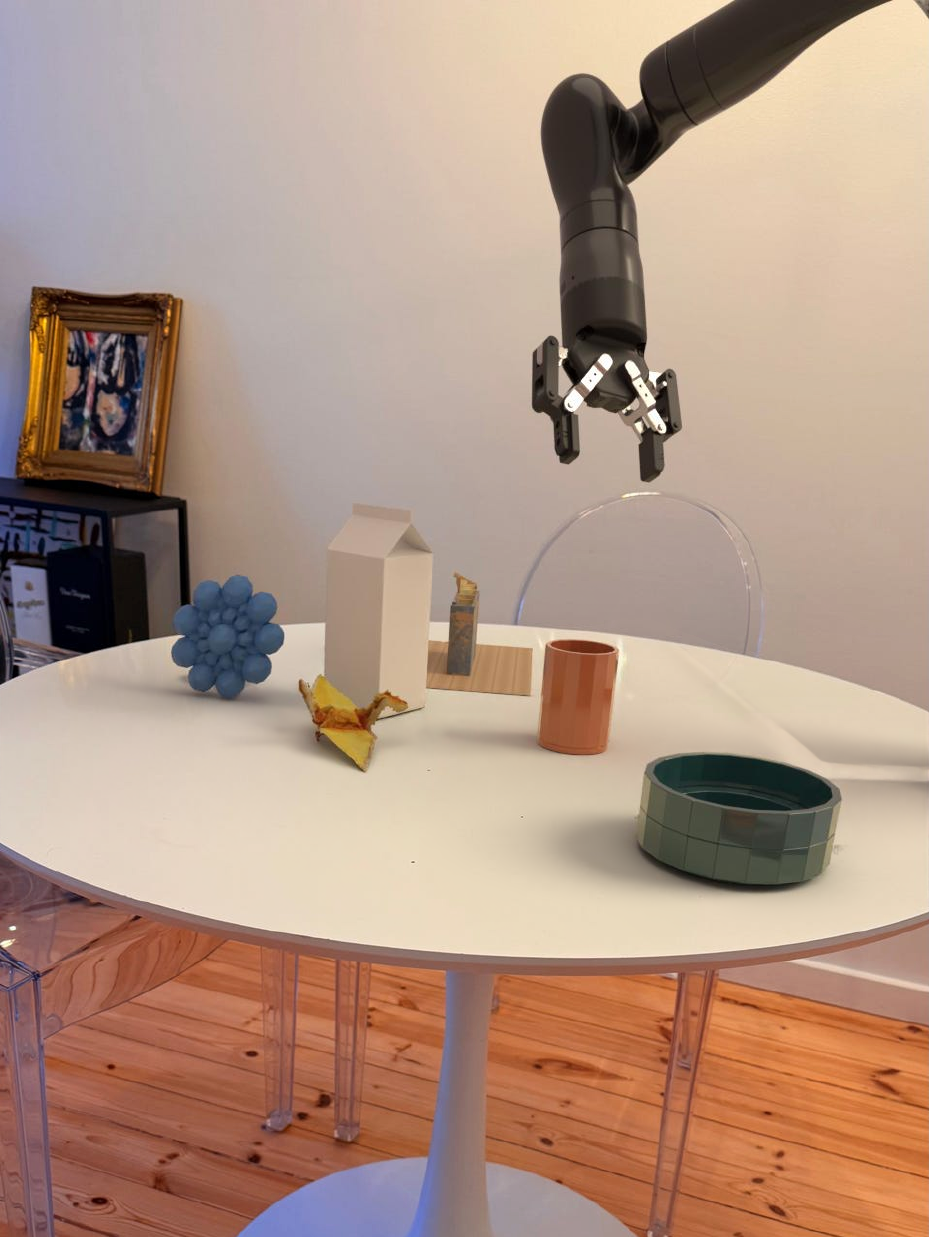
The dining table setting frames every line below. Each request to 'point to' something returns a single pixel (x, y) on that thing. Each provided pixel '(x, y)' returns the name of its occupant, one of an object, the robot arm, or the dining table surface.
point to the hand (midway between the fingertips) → (611, 469)
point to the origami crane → (346, 718)
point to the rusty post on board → (463, 626)
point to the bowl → (738, 817)
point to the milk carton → (378, 608)
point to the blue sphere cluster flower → (227, 636)
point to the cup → (577, 696)
